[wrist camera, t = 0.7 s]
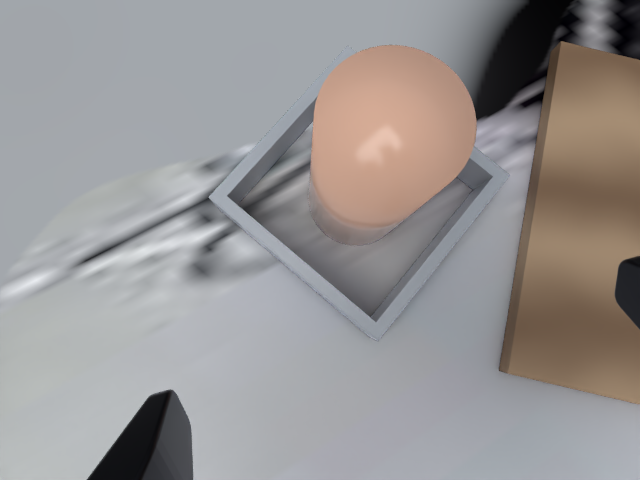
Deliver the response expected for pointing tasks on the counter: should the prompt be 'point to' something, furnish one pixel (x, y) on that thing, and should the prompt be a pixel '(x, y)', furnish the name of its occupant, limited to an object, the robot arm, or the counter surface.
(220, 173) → the counter surface
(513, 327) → the walnut board
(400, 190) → the pink tall rounded piece
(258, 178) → the grey box
